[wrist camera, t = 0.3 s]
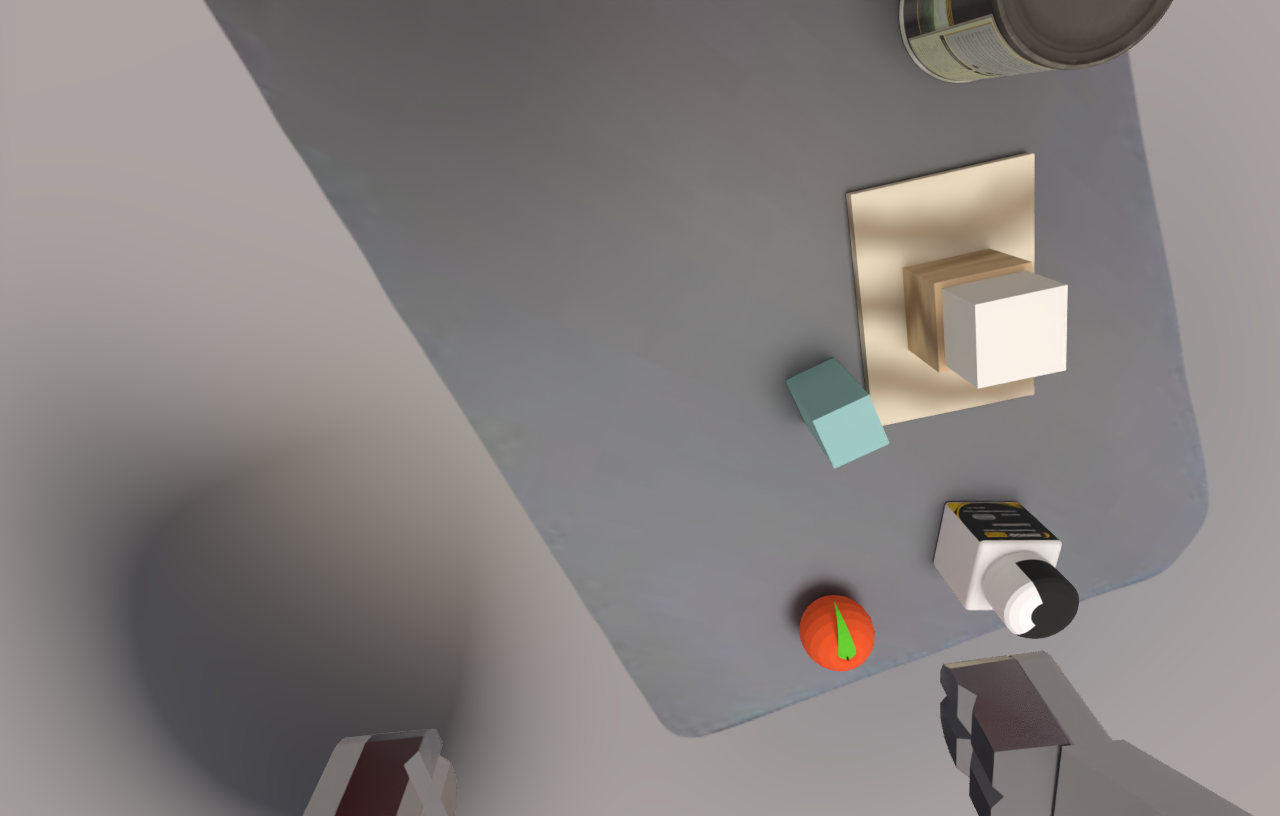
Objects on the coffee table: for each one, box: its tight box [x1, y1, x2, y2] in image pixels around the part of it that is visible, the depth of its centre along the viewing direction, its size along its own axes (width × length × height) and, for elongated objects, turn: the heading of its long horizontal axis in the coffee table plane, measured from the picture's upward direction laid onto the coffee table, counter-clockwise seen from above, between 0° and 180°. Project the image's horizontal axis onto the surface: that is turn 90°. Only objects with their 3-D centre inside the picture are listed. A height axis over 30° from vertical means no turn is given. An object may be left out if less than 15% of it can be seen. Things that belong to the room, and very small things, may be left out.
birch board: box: [846, 153, 1034, 426], centre depth 57 cm, size 20×14×1 cm
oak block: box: [902, 249, 1032, 373], centre depth 53 cm, size 7×7×6 cm
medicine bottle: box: [933, 502, 1079, 639], centre depth 61 cm, size 7×7×12 cm
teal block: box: [785, 357, 889, 469], centre depth 56 cm, size 4×4×9 cm
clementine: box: [800, 595, 875, 671], centre depth 65 cm, size 8×7×7 cm
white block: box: [942, 270, 1068, 388], centre depth 48 cm, size 6×6×5 cm
